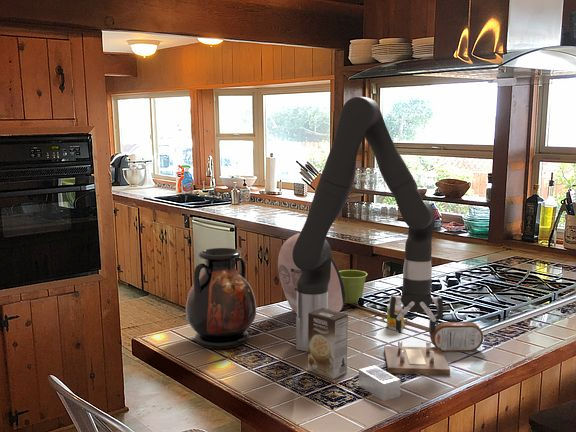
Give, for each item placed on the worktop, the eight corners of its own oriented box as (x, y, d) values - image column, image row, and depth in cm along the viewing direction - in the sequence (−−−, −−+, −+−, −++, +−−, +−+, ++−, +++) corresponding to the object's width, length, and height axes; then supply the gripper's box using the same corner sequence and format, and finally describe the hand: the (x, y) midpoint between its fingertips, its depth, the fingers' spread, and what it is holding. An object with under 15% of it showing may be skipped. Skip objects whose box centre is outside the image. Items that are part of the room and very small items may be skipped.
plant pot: (328, 302, 220) (329, 273, 219) (350, 296, 228) (350, 268, 227) (352, 309, 212) (352, 279, 210) (373, 303, 219) (374, 273, 218)
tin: (480, 348, 172) (481, 320, 171) (484, 352, 169) (485, 324, 168) (429, 349, 172) (430, 321, 171) (432, 353, 169) (433, 324, 168)
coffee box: (306, 370, 157) (306, 312, 155) (321, 363, 162) (321, 307, 160) (333, 379, 151) (334, 319, 149) (348, 372, 156) (349, 313, 154)
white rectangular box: (383, 401, 139) (383, 383, 138) (358, 386, 148) (358, 368, 147) (400, 397, 141) (400, 379, 141) (374, 382, 150) (374, 365, 149)
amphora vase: (227, 325, 196) (225, 242, 192) (271, 340, 180) (270, 251, 176) (172, 341, 181) (169, 251, 177) (215, 359, 165) (212, 262, 162)
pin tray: (388, 373, 155) (388, 356, 154) (384, 351, 171) (384, 336, 170) (450, 374, 153) (450, 358, 153) (440, 352, 169) (440, 337, 169)
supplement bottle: (383, 326, 193) (384, 297, 192) (396, 323, 196) (397, 295, 194) (393, 330, 188) (394, 301, 187) (407, 328, 191) (407, 299, 190)
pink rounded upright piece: (353, 319, 200) (354, 232, 196) (311, 331, 188) (310, 239, 184) (311, 305, 217) (310, 225, 213) (269, 316, 205) (268, 231, 201)
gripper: (391, 278, 156) (389, 336, 158) (446, 279, 154) (443, 339, 157) (389, 271, 163) (387, 327, 166) (441, 273, 162) (439, 329, 164)
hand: (415, 333), depth 161 cm, fingers open, 8 cm apart
